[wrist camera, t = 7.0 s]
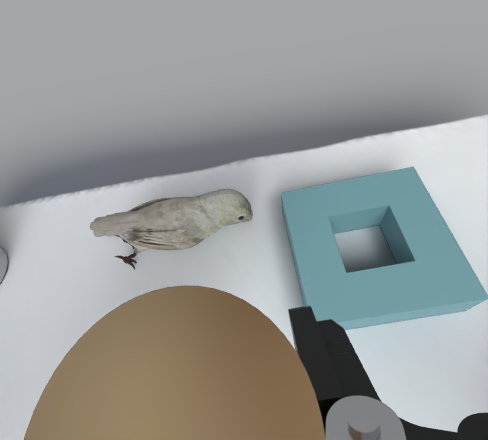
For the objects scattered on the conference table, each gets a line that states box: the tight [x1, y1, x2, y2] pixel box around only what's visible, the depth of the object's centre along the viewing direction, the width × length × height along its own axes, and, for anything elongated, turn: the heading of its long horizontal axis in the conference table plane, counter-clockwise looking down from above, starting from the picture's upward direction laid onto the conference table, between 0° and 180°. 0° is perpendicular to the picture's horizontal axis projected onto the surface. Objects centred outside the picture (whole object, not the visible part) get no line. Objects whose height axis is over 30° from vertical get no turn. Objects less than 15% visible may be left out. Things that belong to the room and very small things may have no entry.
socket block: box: [281, 167, 488, 330], centre depth 29 cm, size 14×14×4 cm
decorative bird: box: [90, 189, 253, 270], centre depth 33 cm, size 5×16×8 cm, turn 104°
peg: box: [24, 286, 325, 440], centre depth 8 cm, size 4×4×10 cm
